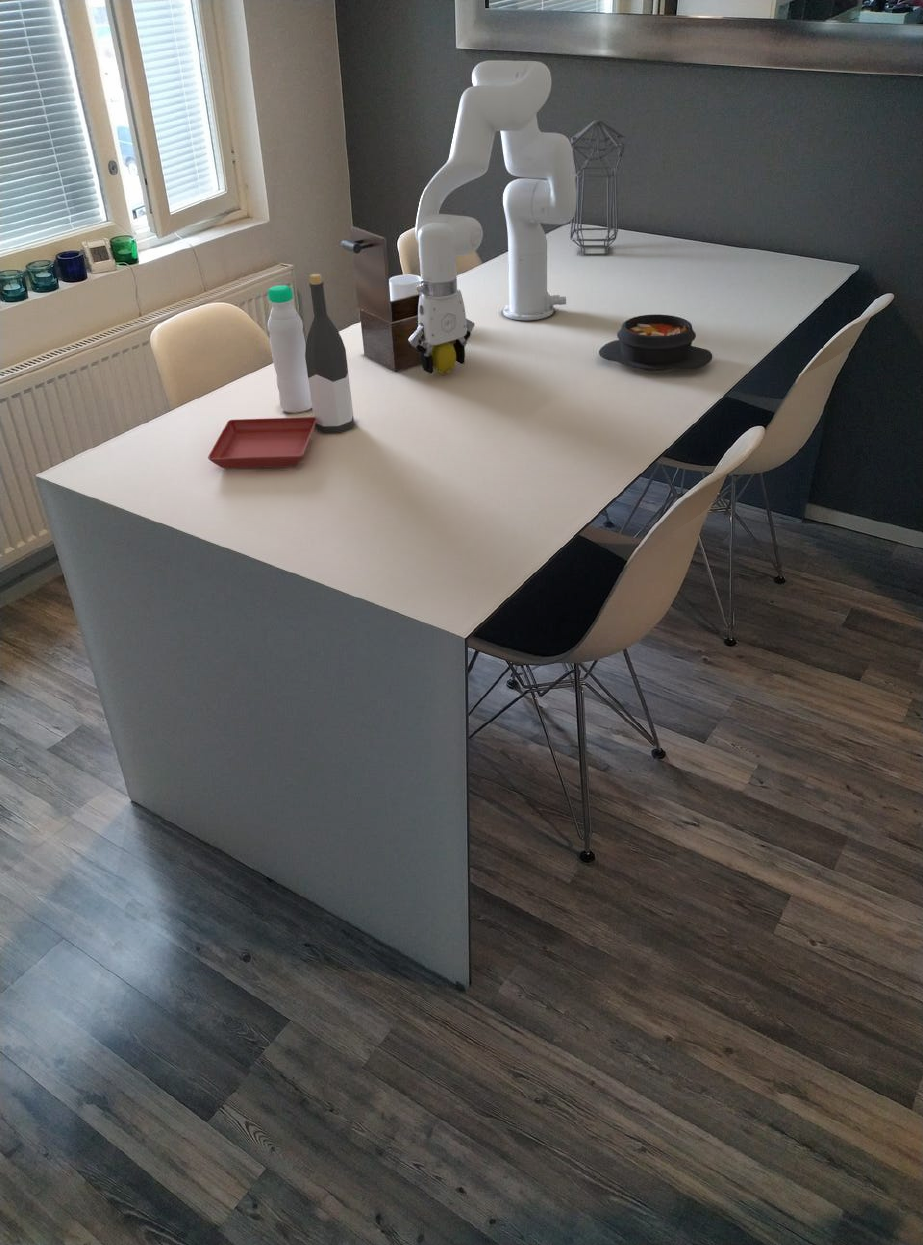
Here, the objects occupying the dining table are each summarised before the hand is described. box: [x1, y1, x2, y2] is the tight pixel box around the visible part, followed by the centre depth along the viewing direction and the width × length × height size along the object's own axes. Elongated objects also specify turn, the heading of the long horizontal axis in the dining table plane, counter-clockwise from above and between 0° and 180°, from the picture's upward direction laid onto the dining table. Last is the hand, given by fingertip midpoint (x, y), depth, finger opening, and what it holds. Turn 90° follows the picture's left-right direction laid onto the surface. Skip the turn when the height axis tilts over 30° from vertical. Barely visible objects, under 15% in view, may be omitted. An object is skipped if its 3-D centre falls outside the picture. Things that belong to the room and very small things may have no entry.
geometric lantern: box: [569, 119, 626, 256], centre depth 288 cm, size 16×16×35 cm
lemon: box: [431, 342, 457, 375], centre depth 222 cm, size 6×6×8 cm
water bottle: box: [267, 284, 312, 414], centre depth 205 cm, size 7×7×25 cm
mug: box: [389, 273, 422, 301], centre depth 251 cm, size 12×8×10 cm
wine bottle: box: [305, 273, 354, 434], centre depth 195 cm, size 8×8×30 cm
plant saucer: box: [207, 416, 317, 469], centre depth 194 cm, size 18×18×3 cm
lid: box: [341, 225, 392, 322], centre depth 219 cm, size 18×14×6 cm
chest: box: [358, 293, 456, 373], centre depth 232 cm, size 17×14×11 cm
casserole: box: [598, 314, 713, 372], centre depth 221 cm, size 25×19×8 cm
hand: (444, 366), depth 223 cm, fingers open, 7 cm apart
